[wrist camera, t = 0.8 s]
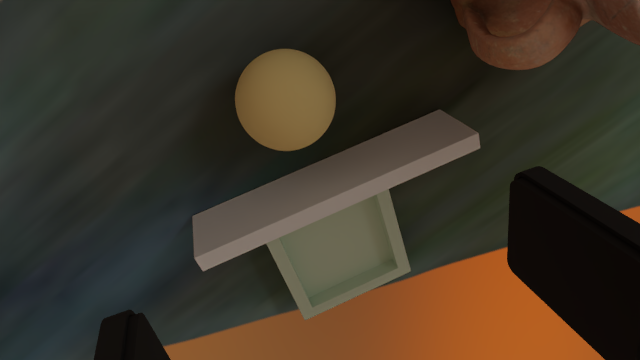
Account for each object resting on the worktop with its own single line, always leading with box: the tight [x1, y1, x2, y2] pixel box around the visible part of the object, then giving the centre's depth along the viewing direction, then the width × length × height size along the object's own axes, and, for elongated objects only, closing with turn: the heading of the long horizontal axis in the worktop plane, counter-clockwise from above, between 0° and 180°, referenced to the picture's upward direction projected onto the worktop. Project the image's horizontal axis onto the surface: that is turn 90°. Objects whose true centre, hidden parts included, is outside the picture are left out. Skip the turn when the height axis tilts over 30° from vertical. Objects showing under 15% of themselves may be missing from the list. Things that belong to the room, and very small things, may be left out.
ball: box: [235, 49, 336, 151], centre depth 26 cm, size 6×6×6 cm
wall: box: [192, 109, 480, 271], centre depth 30 cm, size 20×1×5 cm, turn 108°
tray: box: [266, 189, 411, 320], centre depth 35 cm, size 10×10×2 cm
